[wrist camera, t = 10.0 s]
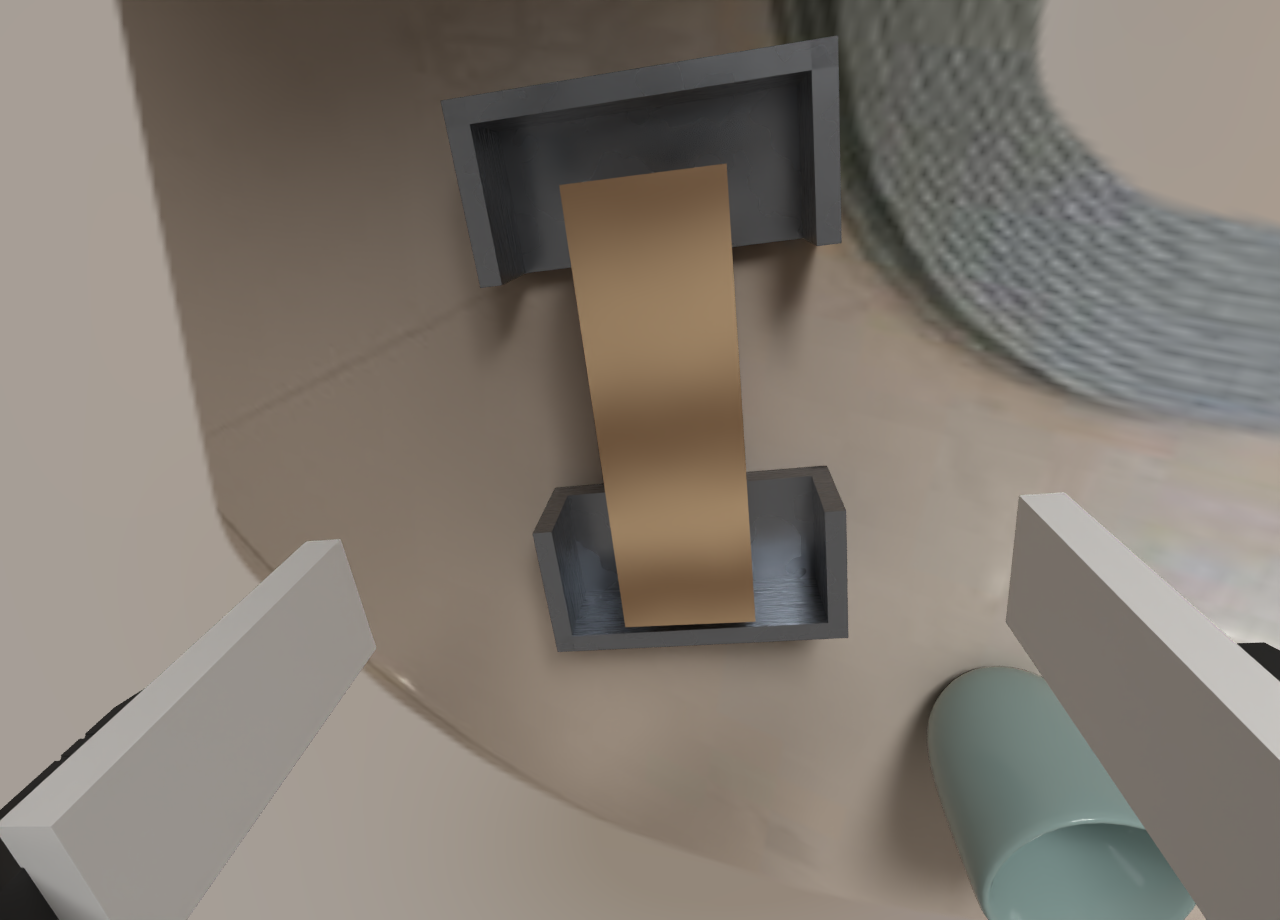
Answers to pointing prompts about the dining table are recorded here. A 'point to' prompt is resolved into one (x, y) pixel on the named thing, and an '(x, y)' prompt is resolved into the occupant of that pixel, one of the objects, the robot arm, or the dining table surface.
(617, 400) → the wooden block
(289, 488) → the dining table surface
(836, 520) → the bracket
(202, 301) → the dining table surface
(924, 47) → the dining table surface
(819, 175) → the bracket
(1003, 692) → the cup
